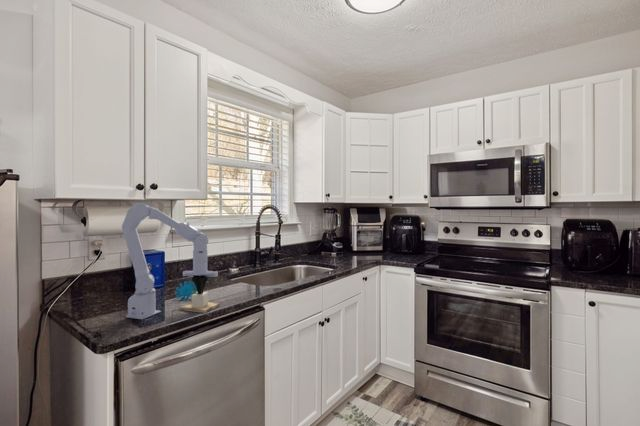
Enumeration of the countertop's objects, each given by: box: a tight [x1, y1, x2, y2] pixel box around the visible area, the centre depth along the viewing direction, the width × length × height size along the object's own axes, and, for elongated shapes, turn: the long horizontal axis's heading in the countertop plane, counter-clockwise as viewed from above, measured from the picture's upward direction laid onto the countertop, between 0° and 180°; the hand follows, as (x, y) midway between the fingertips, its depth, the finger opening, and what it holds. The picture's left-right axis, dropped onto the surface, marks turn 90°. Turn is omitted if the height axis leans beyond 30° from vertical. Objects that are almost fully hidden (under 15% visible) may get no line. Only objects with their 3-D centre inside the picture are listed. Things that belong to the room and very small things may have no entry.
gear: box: [174, 280, 197, 301], centre depth 154 cm, size 11×6×10 cm
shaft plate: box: [179, 301, 221, 314], centre depth 138 cm, size 10×12×4 cm
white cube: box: [191, 291, 209, 307], centre depth 138 cm, size 5×5×5 cm
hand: (200, 293), depth 138 cm, fingers closed
